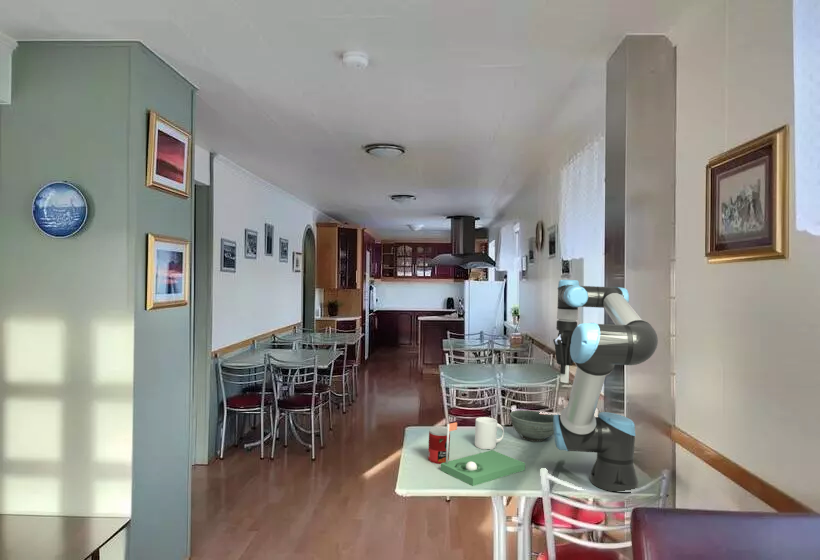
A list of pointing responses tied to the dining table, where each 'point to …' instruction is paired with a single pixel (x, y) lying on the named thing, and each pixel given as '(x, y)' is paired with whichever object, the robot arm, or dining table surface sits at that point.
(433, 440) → the canned food
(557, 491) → the dining table surface
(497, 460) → the putting mat
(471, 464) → the ball
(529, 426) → the bowl
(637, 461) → the dining table surface
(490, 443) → the mug
